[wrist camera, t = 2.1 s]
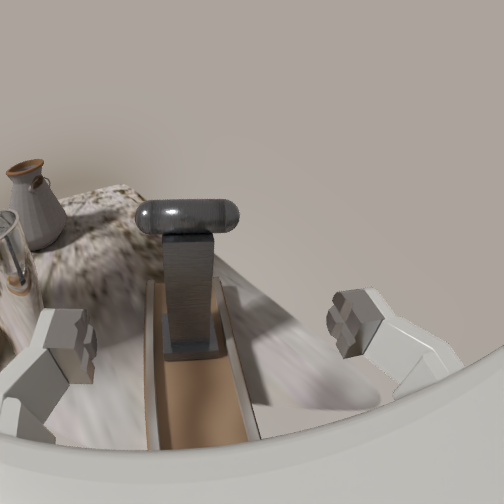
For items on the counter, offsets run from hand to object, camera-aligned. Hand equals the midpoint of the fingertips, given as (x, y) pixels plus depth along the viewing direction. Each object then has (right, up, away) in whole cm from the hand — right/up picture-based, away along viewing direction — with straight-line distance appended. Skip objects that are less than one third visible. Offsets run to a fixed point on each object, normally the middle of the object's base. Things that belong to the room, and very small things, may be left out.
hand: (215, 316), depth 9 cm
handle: (-6, -4, +21) cm, 23 cm away
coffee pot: (-31, +2, +29) cm, 42 cm away
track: (-4, -10, +17) cm, 20 cm away
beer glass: (-22, -9, +15) cm, 28 cm away
